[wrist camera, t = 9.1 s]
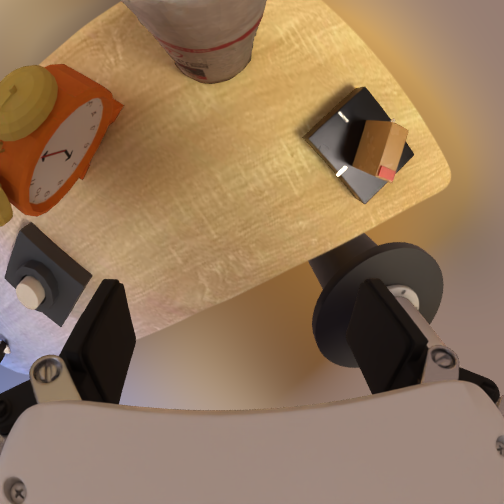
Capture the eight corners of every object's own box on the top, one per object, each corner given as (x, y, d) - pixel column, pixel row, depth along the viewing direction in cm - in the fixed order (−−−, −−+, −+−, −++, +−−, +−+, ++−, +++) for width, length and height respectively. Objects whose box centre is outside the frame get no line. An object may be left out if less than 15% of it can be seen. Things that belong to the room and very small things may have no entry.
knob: (366, 119, 26) (393, 121, 21) (381, 126, 27) (410, 130, 22) (351, 166, 29) (376, 177, 23) (367, 172, 29) (393, 184, 24)
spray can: (160, 38, 23) (79, -47, 5) (229, 6, 22) (234, -111, 4) (194, 97, 27) (138, 59, 9) (264, 64, 26) (322, -15, 8)
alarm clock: (81, 193, 30) (-31, 275, 12) (47, 169, 28) (-72, 229, 10) (136, 95, 26) (18, 77, 8) (97, 72, 24) (-30, 48, 6)
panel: (405, 149, 30) (417, 153, 28) (354, 200, 33) (363, 207, 31) (357, 86, 27) (367, 84, 25) (299, 139, 29) (305, 141, 27)
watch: (-4, 348, 40) (9, 355, 42) (-9, 365, 36) (4, 372, 38) (0, 332, 38) (14, 341, 40) (-6, 351, 34) (9, 359, 37)
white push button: (48, 288, 30) (41, 297, 28) (40, 306, 31) (34, 314, 29) (27, 269, 28) (19, 277, 27) (20, 288, 29) (13, 296, 28)
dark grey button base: (92, 275, 35) (78, 295, 30) (68, 315, 37) (55, 336, 33) (31, 221, 30) (11, 236, 26) (14, 268, 33) (-3, 285, 28)
